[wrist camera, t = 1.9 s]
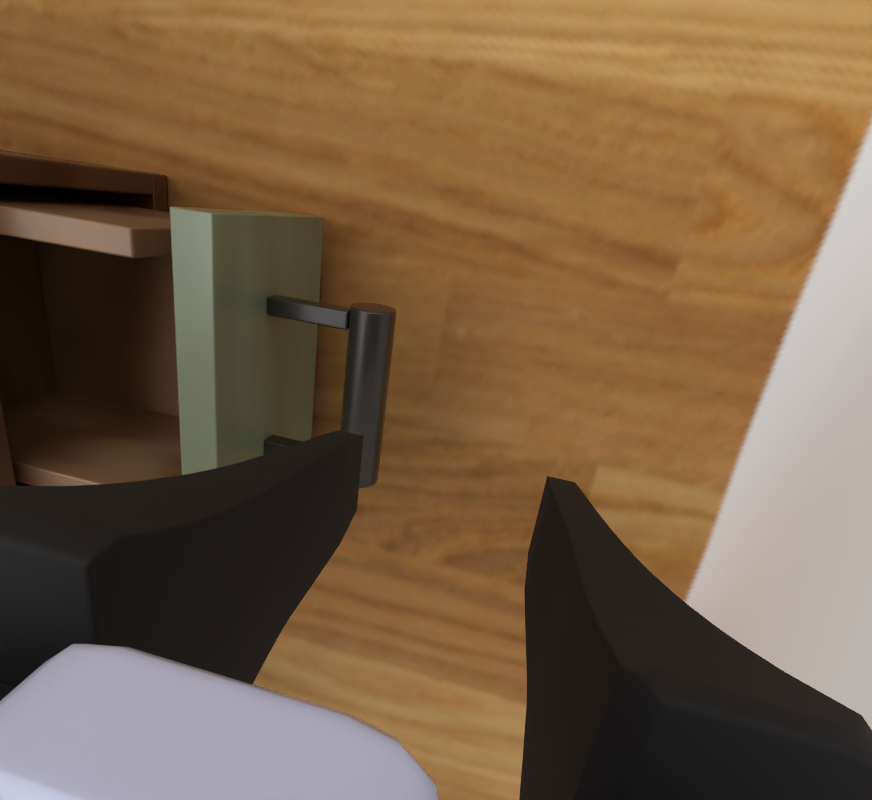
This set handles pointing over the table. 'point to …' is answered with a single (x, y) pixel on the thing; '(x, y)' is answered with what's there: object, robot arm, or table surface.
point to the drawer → (170, 339)
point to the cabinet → (80, 183)
